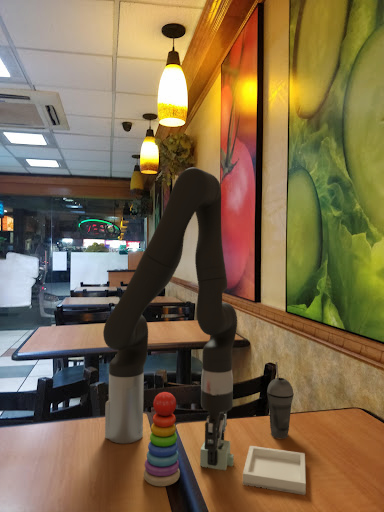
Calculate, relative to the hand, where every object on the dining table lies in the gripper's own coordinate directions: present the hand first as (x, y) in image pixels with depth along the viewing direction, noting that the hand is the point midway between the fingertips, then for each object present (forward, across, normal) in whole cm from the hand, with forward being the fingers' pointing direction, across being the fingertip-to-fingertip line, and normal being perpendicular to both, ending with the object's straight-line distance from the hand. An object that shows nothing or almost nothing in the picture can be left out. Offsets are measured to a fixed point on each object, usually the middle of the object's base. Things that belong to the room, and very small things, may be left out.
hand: (216, 455), depth 95 cm
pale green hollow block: (+2, 0, 0) cm, 2 cm away
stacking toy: (+2, +10, -10) cm, 14 cm away
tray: (+2, +1, +14) cm, 14 cm away
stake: (+2, 0, 0) cm, 2 cm away
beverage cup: (+2, -19, +14) cm, 24 cm away
